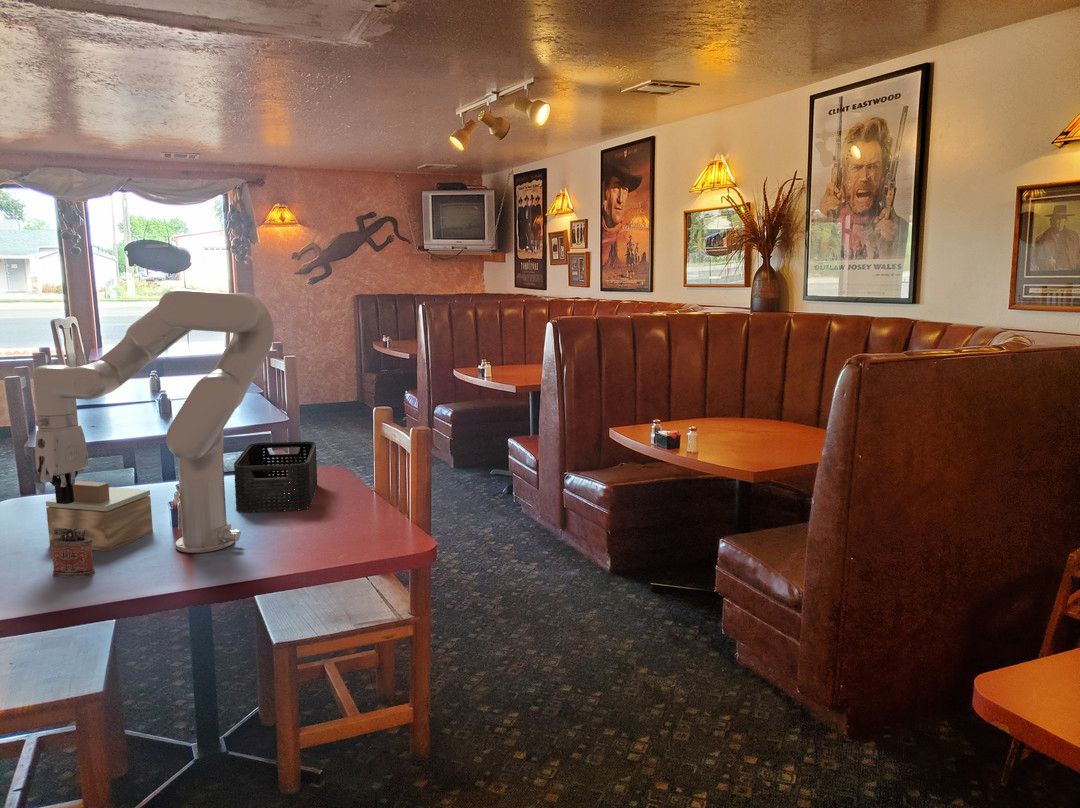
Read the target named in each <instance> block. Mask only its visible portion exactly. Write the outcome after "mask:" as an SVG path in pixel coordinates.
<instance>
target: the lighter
mask: <svg viewBox="0 0 1080 808" xmlns="http://www.w3.org/2000/svg"><path fill="white" fill-rule="evenodd" d="M53 535H61V536H60V538H55V539H52V540H50V542H49V546H50V545H52V546H51V553H52V554H51V555H52V562H53V571H52V575H53V577H58V578H81V577H89V576H94V574H95V573H96V572H95V567H94V561H93V559H94V558H93V550H92V545H91V543H92V538H88V537H84V536H85V529H77V527H71V528H70V529H67V528H55V529H54V530H53ZM65 535H66V537H65Z"/></svg>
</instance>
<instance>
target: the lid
mask: <svg viewBox="0 0 1080 808" xmlns="http://www.w3.org/2000/svg"><path fill="white" fill-rule="evenodd" d="M109 486H110V485H109V482H97V481H87V480H75V483H74V484H73V494H74V502H73V503H70V504H58V503H56V497H55V498H52V499H50V500H46V501H45V508H47V507H58V508H70V509H83V510H95V511H109V510H112V509H114V508H117V507H120V506H122V505H125V504H128V503H130V502H133V501H136V500H138V499H141V498H143V497H146V496H151V490H150V489H142V488H141V489H139V488H126V487H125V488H124V487H111V486H110V487H109Z"/></svg>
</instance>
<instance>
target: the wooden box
mask: <svg viewBox="0 0 1080 808" xmlns="http://www.w3.org/2000/svg"><path fill="white" fill-rule="evenodd" d="M45 508H46V520H47V528H48V529H47V531H48V539H49V541H48V542H49V543H50V540H52V539H55V538H60V536H61V535H53V530H54V529H55V528H67V529H70V528H71V527H77V529H85V536H84V537H88V538H92V543H91V545H92V551H93V550H94V551H103V552H111V551H114V550H116V549H118V548H120V547H122V546H125V545H126V544H129V543H131V542H134V541H136V540H138V539H140V538H142V537H144V536H145V537H146V536H147V535H149V534H151V533H153V532H154V529H153V514H152V500H151V495H149V496H146V497H143V498H141V499H138V500H136V501H133V502H130V503H128V504H125V505H122V506H120V507H117V508H114V509H112V510H109V511H95V510H83V509H70V508H58V507H45ZM65 537H66V535H65ZM49 546H51V547H52V545H50V544H49Z"/></svg>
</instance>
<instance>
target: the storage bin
mask: <svg viewBox="0 0 1080 808" xmlns="http://www.w3.org/2000/svg"><path fill="white" fill-rule="evenodd" d="M277 448H278V449H285V448H299V450H298V452H297V453H281V454H280V453H279V454H276V453H273V454H271V453H270V451H269V449H277ZM317 464H318V463H317V442H315V441H286V442H285V441H281V442H280V441H278V442H277V441H276V442H255V443H250V444H248V445H247V446H246V447H245V449H244V450H243V451H242V453H240V455H239V456H238V457H237V458H236V460H235V462H233V468H234V469H233V473H234V491H235V493H234V495H235V511H236V512H239V513H247V514H248V513H249V514H250V513H251V514H253V513H270V512H269V511H275V512H285V511H284V510H297V511H299V510H298V509H304V510H306V509H305V508H307V507H309V508H311V506H312V504H313V501H312V499H313V500H314V498H313V497H315V495H314V493H315V494H316V491H317V488H316V487H318V485H317V483H318V472H317V471H318V466H317ZM289 482H290V483H289ZM294 489H295V490H294ZM315 490H316V491H315ZM284 493H285V494H284ZM288 493H290V494H288ZM288 500H289V501H288ZM311 503H312V504H311ZM310 505H311V506H310ZM307 509H308V508H307ZM252 512H253V513H252Z"/></svg>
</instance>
